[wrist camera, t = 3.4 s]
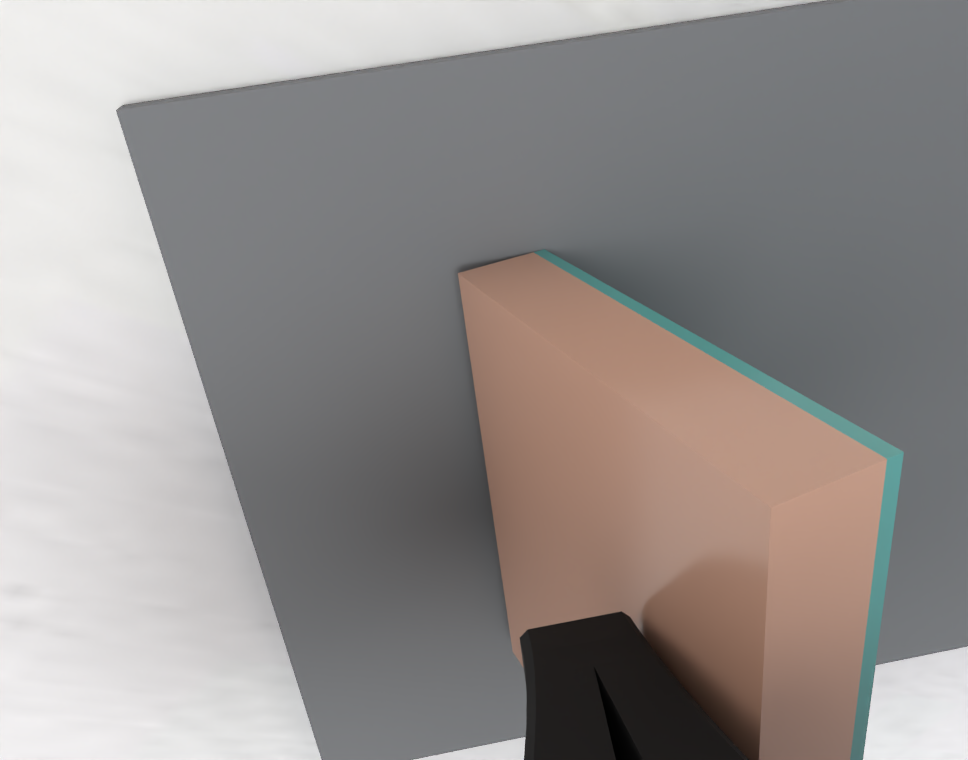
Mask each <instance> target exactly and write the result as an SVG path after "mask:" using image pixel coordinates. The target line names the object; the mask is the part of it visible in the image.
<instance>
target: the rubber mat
mask: <svg viewBox="0 0 968 760" xmlns="http://www.w3.org/2000/svg"><path fill="white" fill-rule="evenodd" d="M116 111H117V115H118V118H119V121H120V124H121V127H122V130H123V134H124V137H125V140H126V143H127V146H128V149H129V152H130V156H131V159H132V162H133V165H134V168H135V171H136V175H137V178H138V181H139V184H140V187H141V190H142V194H143V197H144V200H145V203H146V206H147V209H148V212H149V216H150V219H151V222H152V225H153V228H154V231H155V235H156V238H157V241H158V244H159V247H160V250H161V254H162V257H163V260H164V263H165V266H166V269H167V272H168V276H169V279H170V282H171V285H172V288H173V291H174V295H175V298H176V301H177V304H178V307H179V310H180V313H181V317H182V320H183V323H184V326H185V329H186V332H187V336H188V339H189V342H190V345H191V348H192V351H193V355H194V358H195V361H196V364H197V367H198V370H199V373H200V377H201V380H202V383H203V386H204V389H205V392H206V396H207V399H208V402H209V405H210V408H211V411H212V415H213V418H214V421H215V424H216V427H217V430H218V433H219V437H220V440H221V443H222V446H223V449H224V452H225V456H226V459H227V462H228V465H229V468H230V471H231V475H232V478H233V481H234V484H235V487H236V490H237V493H238V497H239V500H240V503H241V506H242V509H243V512H244V516H245V519H246V522H247V525H248V528H249V531H250V535H251V538H252V541H253V544H254V547H255V550H256V553H257V557H258V560H259V563H260V566H261V569H262V572H263V576H264V579H265V582H266V585H267V588H268V591H269V595H270V598H271V601H272V604H273V607H274V610H275V613H276V617H277V620H278V623H279V626H280V629H281V632H282V636H283V639H284V642H285V645H286V648H287V651H288V655H289V658H290V661H291V664H292V667H293V670H294V673H295V677H296V680H297V683H298V686H299V689H300V692H301V696H302V699H303V702H304V705H305V708H306V711H307V715H308V718H309V721H310V724H311V727H312V730H313V733H314V737H315V740H316V743H317V746H318V749H319V752H320V756H321V759H322V760H413V759H418V758H423V757H428V756H433V755H438V754H443V753H448V752H453V751H457V750H462V749H467V748H472V747H477V746H482V745H487V744H492V743H497V742H502V741H506V740H511V739H516V738H521V737H526V707H527V694H526V682H525V674H524V668H523V666H522V665H521V663H520V662H519V660H518V659H517V657H516V656H515V654H514V653H513V651H512V644H511V637H510V630H509V623H508V616H507V609H506V602H505V595H504V588H503V582H502V575H501V568H500V561H499V554H498V547H497V540H496V533H495V526H494V519H493V512H492V506H491V499H490V492H489V485H488V478H487V471H486V464H485V457H484V450H483V443H482V436H481V430H480V423H479V416H478V409H477V402H476V395H475V388H474V381H473V374H472V367H471V360H470V354H469V347H468V340H467V333H466V326H465V319H464V312H463V305H462V298H461V291H460V285H459V278H458V273H460V272H464V271H467V270H471V269H475V268H478V267H482V266H486V265H489V264H493V263H496V262H500V261H504V260H507V259H511V258H515V257H518V256H522V255H525V254H529V253H533V252H536V251H540V250H544V249H545V250H547V251H548V252H550V253H552V254H554V255H556V256H557V257H559V258H561V259H563V260H564V261H566V262H568V263H570V264H571V265H573V266H575V267H577V268H579V269H580V270H582V271H584V272H586V273H587V274H589V275H591V276H593V277H595V278H596V279H598V280H600V281H602V282H603V283H605V284H607V285H609V286H610V287H612V288H614V289H616V290H618V291H619V292H621V293H623V294H625V295H626V296H628V297H630V298H632V299H634V300H635V301H637V302H639V303H641V304H642V305H644V306H646V307H648V308H649V309H651V310H653V311H655V312H657V313H658V314H660V315H662V316H664V317H665V318H667V319H669V320H671V321H673V322H674V323H676V324H678V325H680V326H681V327H683V328H685V329H687V330H688V331H690V332H692V333H694V334H696V335H697V336H699V337H701V338H703V339H704V340H706V341H708V342H710V343H712V344H713V345H715V346H717V347H719V348H720V349H722V350H724V351H726V352H728V353H729V354H731V355H733V356H735V357H736V358H738V359H740V360H742V361H743V362H745V363H747V364H749V365H751V366H752V367H754V368H756V369H758V370H759V371H761V372H763V373H765V374H767V375H768V376H770V377H772V378H774V379H775V380H777V381H779V382H781V383H782V384H784V385H786V386H788V387H790V388H791V389H793V390H795V391H797V392H798V393H800V394H802V395H804V396H806V397H807V398H809V399H811V400H813V401H814V402H816V403H818V404H820V405H821V406H823V407H825V408H827V409H829V410H830V411H832V412H834V413H836V414H837V415H839V416H841V417H843V418H845V419H846V420H848V421H850V422H852V423H853V424H855V425H857V426H859V427H860V428H862V429H864V430H866V431H868V432H869V433H871V434H873V435H875V436H876V437H878V438H880V439H882V440H884V441H885V442H887V443H889V444H891V445H892V446H894V447H896V448H898V449H899V450H901V451H903V452H904V455H903V462H902V470H901V477H900V485H899V492H898V500H897V507H896V514H895V522H894V529H893V537H892V544H891V552H890V559H889V567H888V574H887V582H886V589H885V597H884V604H883V612H882V619H881V627H880V634H879V642H878V649H877V657H876V664H875V665H879V664H883V663H888V662H893V661H898V660H903V659H908V658H913V657H918V656H923V655H927V654H932V653H937V652H942V651H947V650H952V649H957V648H962V647H967V646H968V0H829V1H822V2H815V3H808V4H802V5H795V6H788V7H782V8H775V9H768V10H761V11H755V12H748V13H741V14H734V15H728V16H721V17H714V18H707V19H701V20H694V21H687V22H681V23H674V24H667V25H660V26H654V27H647V28H640V29H633V30H627V31H620V32H613V33H606V34H600V35H593V36H586V37H579V38H573V39H566V40H559V41H553V42H546V43H539V44H532V45H526V46H519V47H512V48H505V49H499V50H492V51H485V52H478V53H472V54H465V55H458V56H452V57H445V58H438V59H431V60H425V61H418V62H411V63H404V64H398V65H391V66H384V67H377V68H371V69H364V70H357V71H351V72H344V73H337V74H330V75H324V76H317V77H310V78H303V79H297V80H290V81H283V82H276V83H270V84H263V85H256V86H249V87H243V88H236V89H229V90H223V91H216V92H209V93H202V94H196V95H189V96H182V97H175V98H169V99H162V100H155V101H148V102H142V103H135V104H128V105H123V106H121V107H120V108H119V109H117V110H116Z"/></svg>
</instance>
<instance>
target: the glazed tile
mask: <svg viewBox="0 0 968 760" xmlns="http://www.w3.org/2000/svg"><path fill="white" fill-rule="evenodd" d="M458 278H459V285H460V291H461V298H462V305H463V312H464V319H465V326H466V333H467V340H468V347H469V354H470V360H471V367H472V374H473V381H474V388H475V395H476V402H477V409H478V416H479V423H480V430H481V436H482V443H483V450H484V457H485V464H486V471H487V478H488V485H489V492H490V499H491V506H492V512H493V519H494V526H495V533H496V540H497V547H498V554H499V561H500V568H501V575H502V582H503V588H504V595H505V602H506V609H507V616H508V623H509V630H510V637H511V644H512V651H513V653H514V654H515V656H516V657H517V659H518V660H519V662H520V663H521V665H522V666H523V660H522V652H521V645H520V637H521V636H522V635H523V634H524V633H525V632H526V631H527V629H532V628H538V627H543V626H548V625H553V624H558V623H564V622H569V621H574V620H579V619H584V618H589V617H595V616H600V615H605V614H610V613H615V612H620V611H622V612H623V613H625V614H627V615H628V616H630V617H631V619H632V620H633V622H634V623H635V625H636V626H637V628H638V629H639V630H640V632H641V633H642V635H643V636H644V637H645V639H646V640H647V641H648V643H649V644H650V645H651V647H652V648H653V649H654V651H655V652H656V653H657V655H658V656H659V657H660V658H661V660H662V661H663V662H664V663H665V665H666V666H667V667H668V669H669V670H670V671H671V672H672V673H673V675H674V676H675V677H676V678H677V679H678V681H679V682H680V683H681V684H682V686H683V687H684V688H685V689H686V690H687V692H688V693H689V694H690V695H691V696H692V697H693V699H694V700H695V701H696V702H697V703H698V704H699V706H700V707H701V708H702V709H703V710H704V711H705V712H706V713H707V715H708V716H709V717H710V718H711V719H712V720H713V721H714V722H715V723H716V724H717V726H718V727H719V728H720V729H721V730H722V731H723V732H724V733H725V734H726V735H727V736H728V738H729V739H730V740H731V741H732V742H733V743H734V744H735V745H736V746H737V747H738V749H739V750H740V751H741V752H742V753H743V754H744V755H745V756H746V757H747V758H748V759H749V760H863V754H864V746H865V739H866V731H867V724H868V716H869V709H870V701H871V694H872V687H873V679H874V672H875V664H876V657H877V649H878V642H879V634H880V627H881V619H882V612H883V604H884V597H885V589H886V582H887V574H888V567H889V559H890V552H891V544H892V537H893V529H894V522H895V514H896V507H897V500H898V492H899V485H900V477H901V470H902V462H903V455H904V452H903V451H901V450H899V449H898V448H896V447H894V446H892V445H891V444H889V443H887V442H885V441H884V440H882V439H880V438H878V437H876V436H875V435H873V434H871V433H869V432H868V431H866V430H864V429H862V428H860V427H859V426H857V425H855V424H853V423H852V422H850V421H848V420H846V419H845V418H843V417H841V416H839V415H837V414H836V413H834V412H832V411H830V410H829V409H827V408H825V407H823V406H821V405H820V404H818V403H816V402H814V401H813V400H811V399H809V398H807V397H806V396H804V395H802V394H800V393H798V392H797V391H795V390H793V389H791V388H790V387H788V386H786V385H784V384H782V383H781V382H779V381H777V380H775V379H774V378H772V377H770V376H768V375H767V374H765V373H763V372H761V371H759V370H758V369H756V368H754V367H752V366H751V365H749V364H747V363H745V362H743V361H742V360H740V359H738V358H736V357H735V356H733V355H731V354H729V353H728V352H726V351H724V350H722V349H720V348H719V347H717V346H715V345H713V344H712V343H710V342H708V341H706V340H704V339H703V338H701V337H699V336H697V335H696V334H694V333H692V332H690V331H688V330H687V329H685V328H683V327H681V326H680V325H678V324H676V323H674V322H673V321H671V320H669V319H667V318H665V317H664V316H662V315H660V314H658V313H657V312H655V311H653V310H651V309H649V308H648V307H646V306H644V305H642V304H641V303H639V302H637V301H635V300H634V299H632V298H630V297H628V296H626V295H625V294H623V293H621V292H619V291H618V290H616V289H614V288H612V287H610V286H609V285H607V284H605V283H603V282H602V281H600V280H598V279H596V278H595V277H593V276H591V275H589V274H587V273H586V272H584V271H582V270H580V269H579V268H577V267H575V266H573V265H571V264H570V263H568V262H566V261H564V260H563V259H561V258H559V257H557V256H556V255H554V254H552V253H550V252H548V251H547V250H545V249H544V250H540V251H536V252H533V253H529V254H525V255H522V256H518V257H515V258H511V259H507V260H504V261H500V262H496V263H493V264H489V265H486V266H482V267H478V268H475V269H471V270H467V271H464V272H460V273H458ZM523 668H524V667H523Z"/></svg>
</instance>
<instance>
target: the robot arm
mask: <svg viewBox="0 0 968 760" xmlns="http://www.w3.org/2000/svg"><path fill="white" fill-rule="evenodd" d="M520 645H521V652H522V660H523V667H524V674H525V682H526V694H527V707H526V740H525V755H524V760H749V759H748V758H747V757H746V756H745V755H744V754H743V753H742V752H741V751H740V750H739V749H738V747H737V746H736V745H735V744H734V743H733V742H732V741H731V740H730V739H729V738H728V736H727V735H726V734H725V733H724V732H723V731H722V730H721V729H720V728H719V727H718V726H717V724H716V723H715V722H714V721H713V720H712V719H711V718H710V717H709V716H708V715H707V713H706V712H705V711H704V710H703V709H702V708H701V707H700V706H699V704H698V703H697V702H696V701H695V700H694V699H693V697H692V696H691V695H690V694H689V693H688V692H687V690H686V689H685V688H684V687H683V686H682V684H681V683H680V682H679V681H678V679H677V678H676V677H675V676H674V675H673V673H672V672H671V671H670V670H669V669H668V667H667V666H666V665H665V663H664V662H663V661H662V660H661V658H660V657H659V656H658V655H657V653H656V652H655V651H654V649H653V648H652V647H651V645H650V644H649V643H648V641H647V640H646V639H645V637H644V636H643V635H642V633H641V632H640V630H639V629H638V628H637V626H636V625H635V623H634V622H633V620H632V619H631V617H630V616H628V615H627V614H625V613H623V612H622V611H620V612H615V613H610V614H605V615H600V616H595V617H589V618H584V619H579V620H574V621H569V622H564V623H558V624H553V625H548V626H543V627H538V628H532V629H527V631H526V632H525V633H524V634H523V635H522V636H521V637H520Z"/></svg>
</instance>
